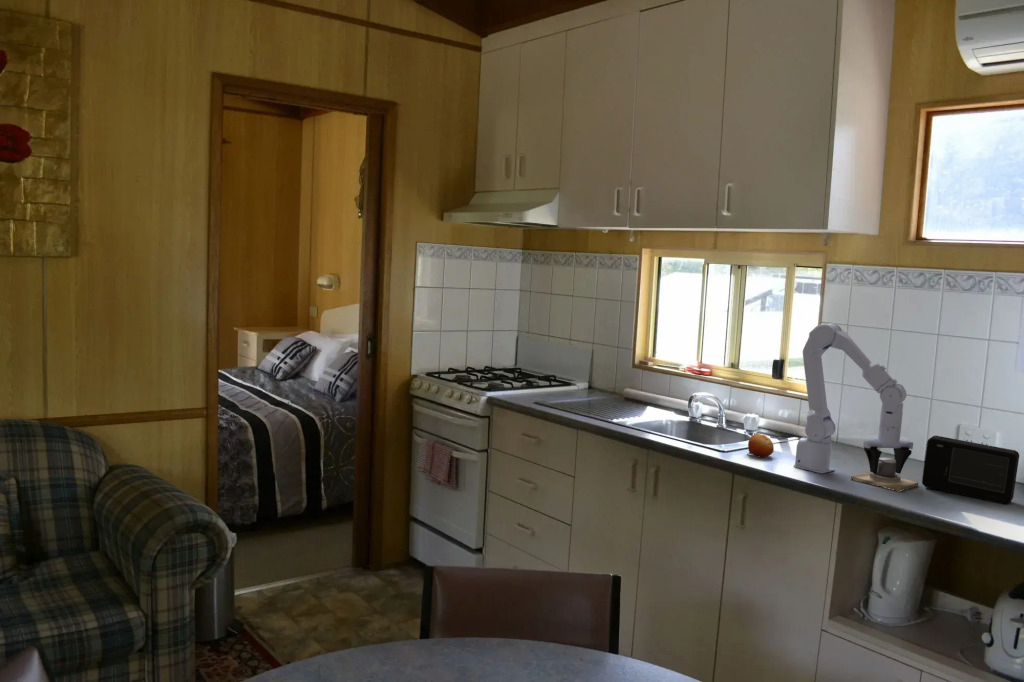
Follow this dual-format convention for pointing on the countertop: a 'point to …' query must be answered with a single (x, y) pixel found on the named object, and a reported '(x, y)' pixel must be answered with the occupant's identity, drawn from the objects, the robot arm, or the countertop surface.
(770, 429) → the countertop surface
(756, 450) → the fruit
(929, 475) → the black box
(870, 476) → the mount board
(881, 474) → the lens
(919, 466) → the countertop surface
